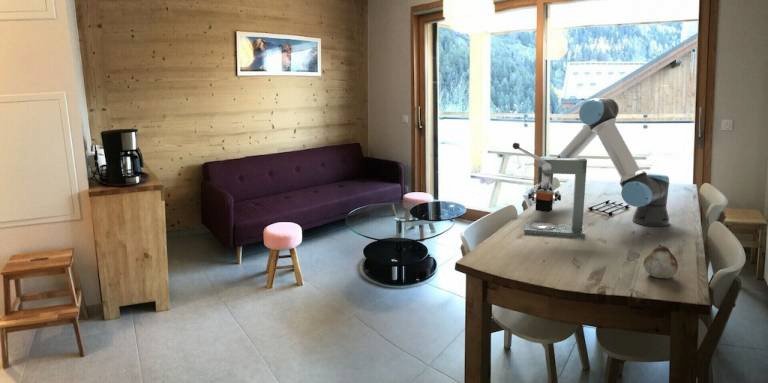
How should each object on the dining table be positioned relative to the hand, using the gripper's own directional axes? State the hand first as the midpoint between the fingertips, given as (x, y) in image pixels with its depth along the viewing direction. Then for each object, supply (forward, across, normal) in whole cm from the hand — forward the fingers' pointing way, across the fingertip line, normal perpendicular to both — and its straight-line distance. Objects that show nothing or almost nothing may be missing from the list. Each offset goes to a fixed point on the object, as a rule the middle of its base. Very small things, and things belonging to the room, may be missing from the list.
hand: (544, 200), depth 226 cm
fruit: (+54, -38, -12) cm, 68 cm away
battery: (-5, 0, -6) cm, 8 cm away
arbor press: (+9, -2, -12) cm, 15 cm away
